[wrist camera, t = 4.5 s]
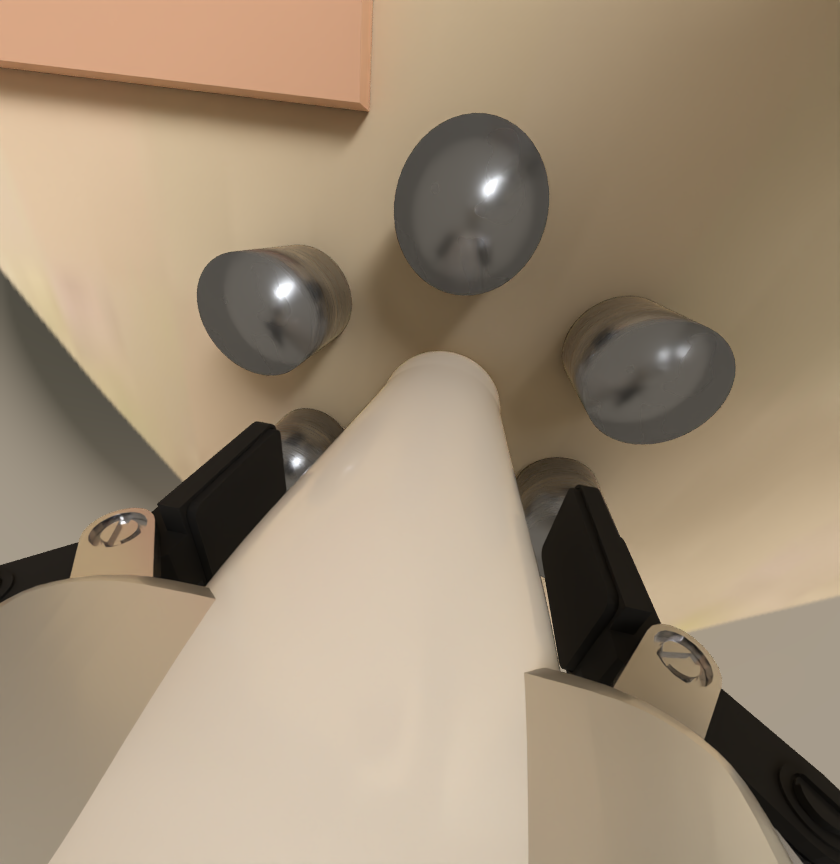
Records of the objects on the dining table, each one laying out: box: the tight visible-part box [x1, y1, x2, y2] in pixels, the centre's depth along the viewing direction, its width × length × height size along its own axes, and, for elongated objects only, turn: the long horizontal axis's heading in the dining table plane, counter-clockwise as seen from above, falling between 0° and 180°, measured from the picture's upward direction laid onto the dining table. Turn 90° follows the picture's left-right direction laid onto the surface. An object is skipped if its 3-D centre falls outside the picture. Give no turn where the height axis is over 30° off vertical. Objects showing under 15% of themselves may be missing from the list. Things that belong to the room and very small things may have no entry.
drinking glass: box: [48, 351, 560, 864], centre depth 10 cm, size 7×7×15 cm
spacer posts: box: [197, 113, 735, 578], centre depth 15 cm, size 17×19×4 cm
